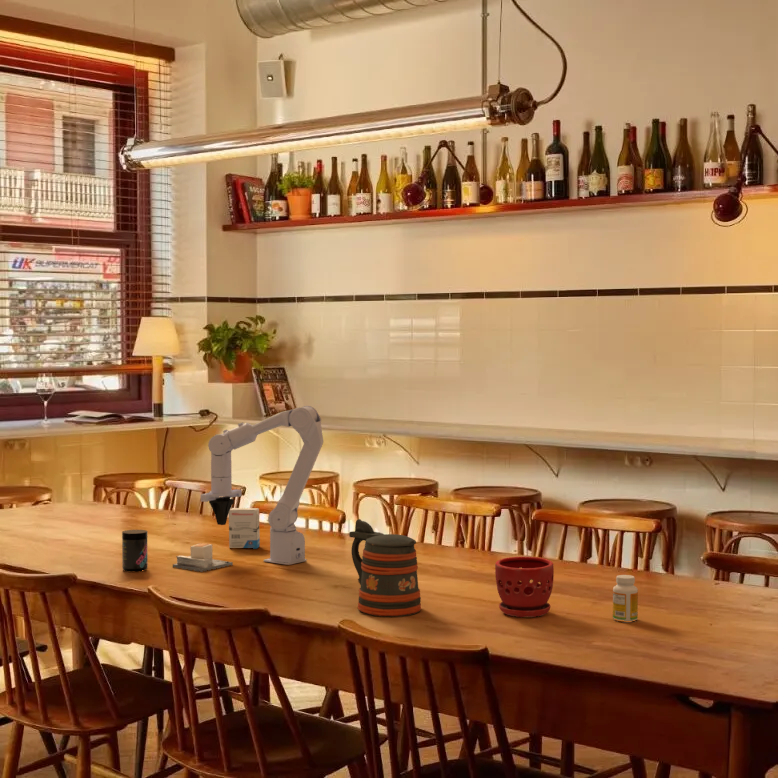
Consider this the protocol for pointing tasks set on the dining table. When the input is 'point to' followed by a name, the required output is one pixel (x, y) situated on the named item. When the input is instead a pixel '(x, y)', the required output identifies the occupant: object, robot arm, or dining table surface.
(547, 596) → the plant pot
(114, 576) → the dining table surface
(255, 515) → the ink box
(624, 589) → the supplement bottle
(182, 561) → the rail plate
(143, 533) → the supplement container
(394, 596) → the beer stein
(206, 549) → the block
